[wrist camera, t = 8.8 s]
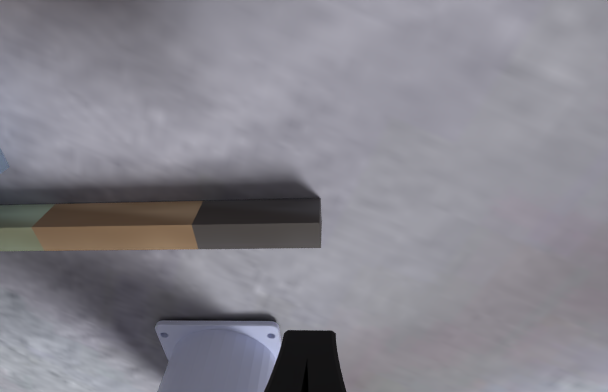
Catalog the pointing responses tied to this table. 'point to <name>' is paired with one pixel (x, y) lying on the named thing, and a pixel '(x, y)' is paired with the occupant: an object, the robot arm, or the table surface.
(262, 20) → the table surface
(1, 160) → the slate block
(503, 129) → the table surface
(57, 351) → the table surface
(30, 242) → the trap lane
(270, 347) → the robot arm
